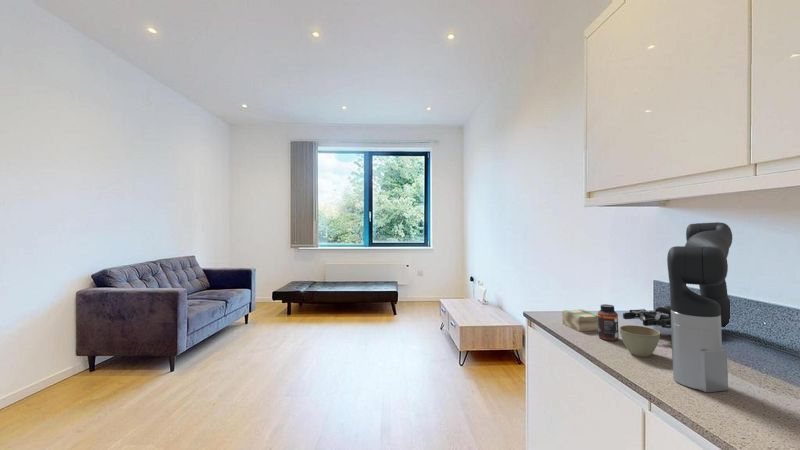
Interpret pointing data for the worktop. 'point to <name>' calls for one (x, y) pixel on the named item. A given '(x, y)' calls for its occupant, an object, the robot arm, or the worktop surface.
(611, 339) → the supplement bottle
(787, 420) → the worktop surface
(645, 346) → the beige round bowl
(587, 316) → the step
